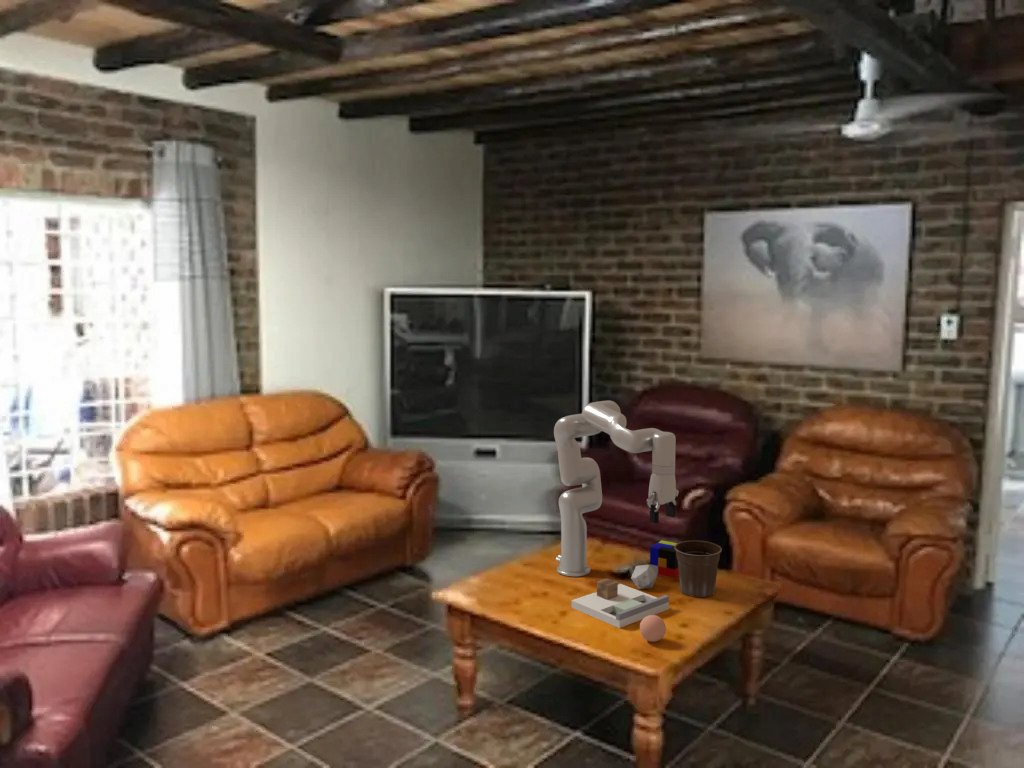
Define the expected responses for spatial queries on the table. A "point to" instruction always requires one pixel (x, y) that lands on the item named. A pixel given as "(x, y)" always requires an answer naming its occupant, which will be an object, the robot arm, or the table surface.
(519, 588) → the table surface
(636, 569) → the die
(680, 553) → the plant pot
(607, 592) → the block
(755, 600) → the table surface
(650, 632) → the toy ball
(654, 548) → the puzzle toy
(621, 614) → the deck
